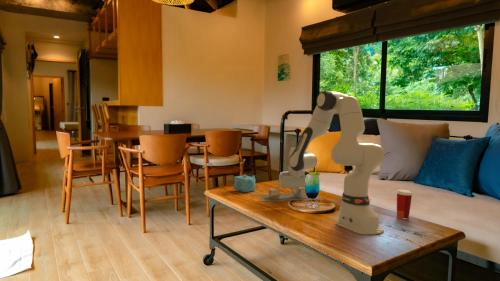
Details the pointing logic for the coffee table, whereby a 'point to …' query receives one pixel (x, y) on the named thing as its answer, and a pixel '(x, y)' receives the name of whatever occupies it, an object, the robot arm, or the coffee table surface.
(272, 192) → the cube
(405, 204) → the glass of red beer
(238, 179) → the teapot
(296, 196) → the strip
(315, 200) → the lane rails
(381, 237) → the coffee table surface
